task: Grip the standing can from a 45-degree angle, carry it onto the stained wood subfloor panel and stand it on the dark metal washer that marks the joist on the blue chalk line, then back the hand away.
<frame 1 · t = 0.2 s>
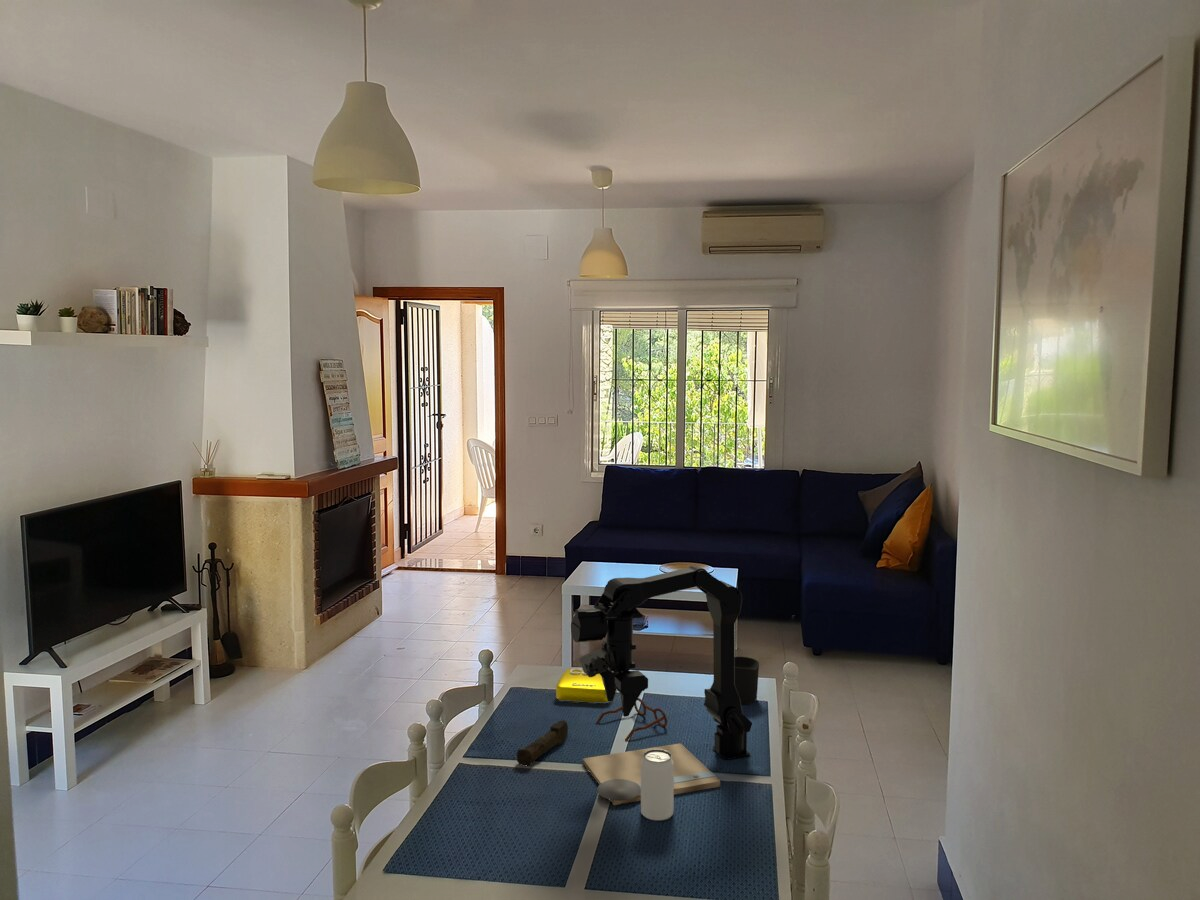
hand: (617, 708, 192), 14 cm above the table, tool pointing down, fingers open, 9 cm apart
pen holder: (740, 699, 236), on the table
element tile: (587, 694, 241), on the table
subfloor panel: (649, 774, 192), on the table
can: (657, 814, 175), on the table
glasses: (631, 728, 218), on the table
hand tool: (544, 751, 205), on the table
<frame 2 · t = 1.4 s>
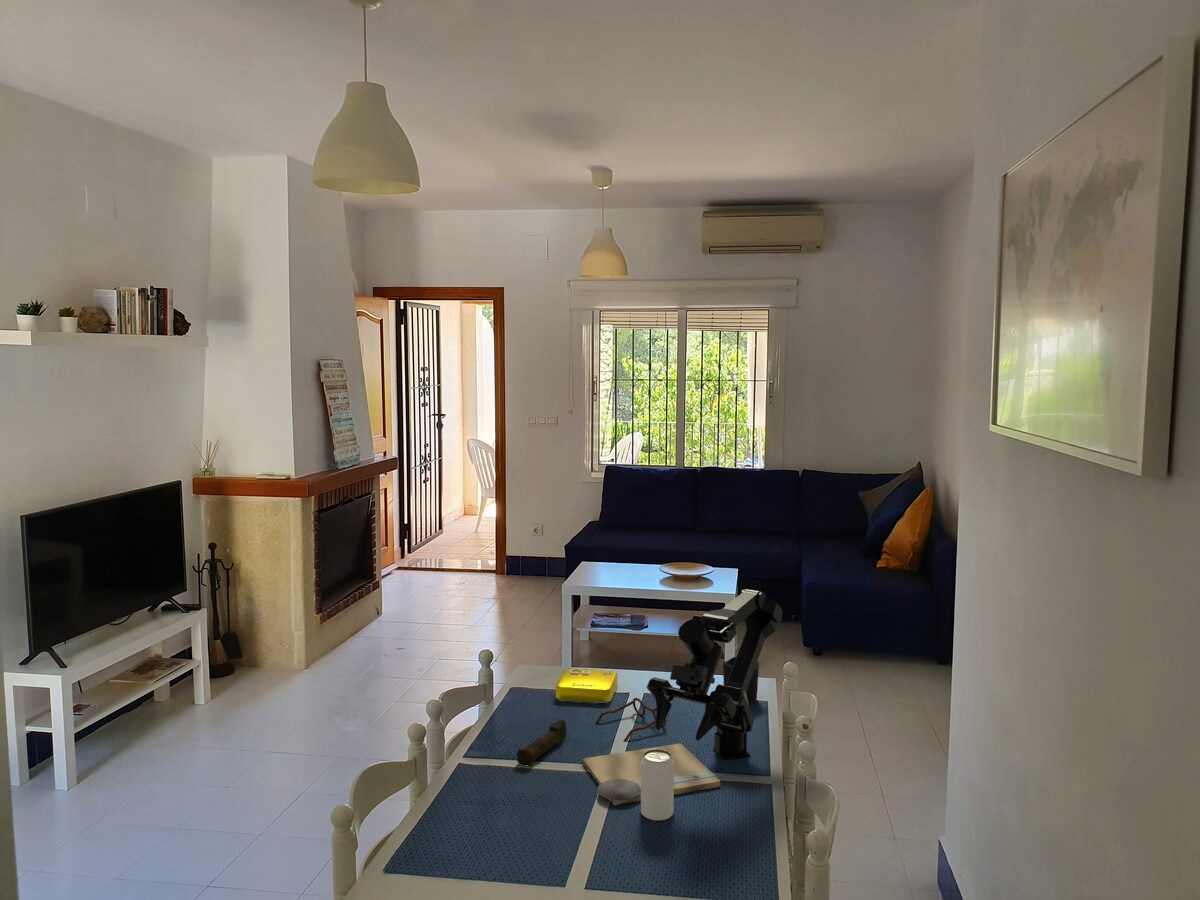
hand: (676, 734, 181), 13 cm above the table, tool tilted 45°, fingers open, 9 cm apart
nothing on the table moved.
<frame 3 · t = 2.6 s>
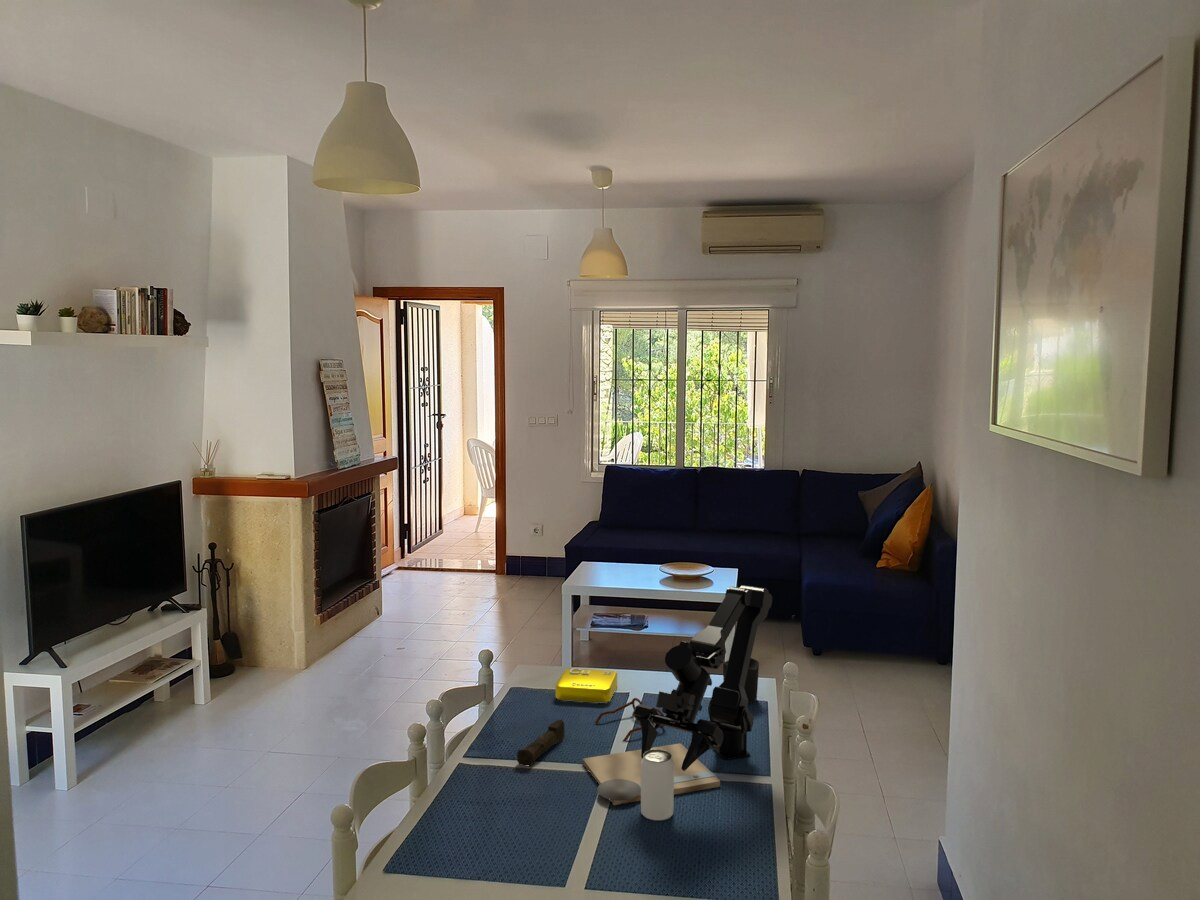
hand: (662, 764, 176), 9 cm above the table, tool tilted 45°, fingers open, 9 cm apart
nothing on the table moved.
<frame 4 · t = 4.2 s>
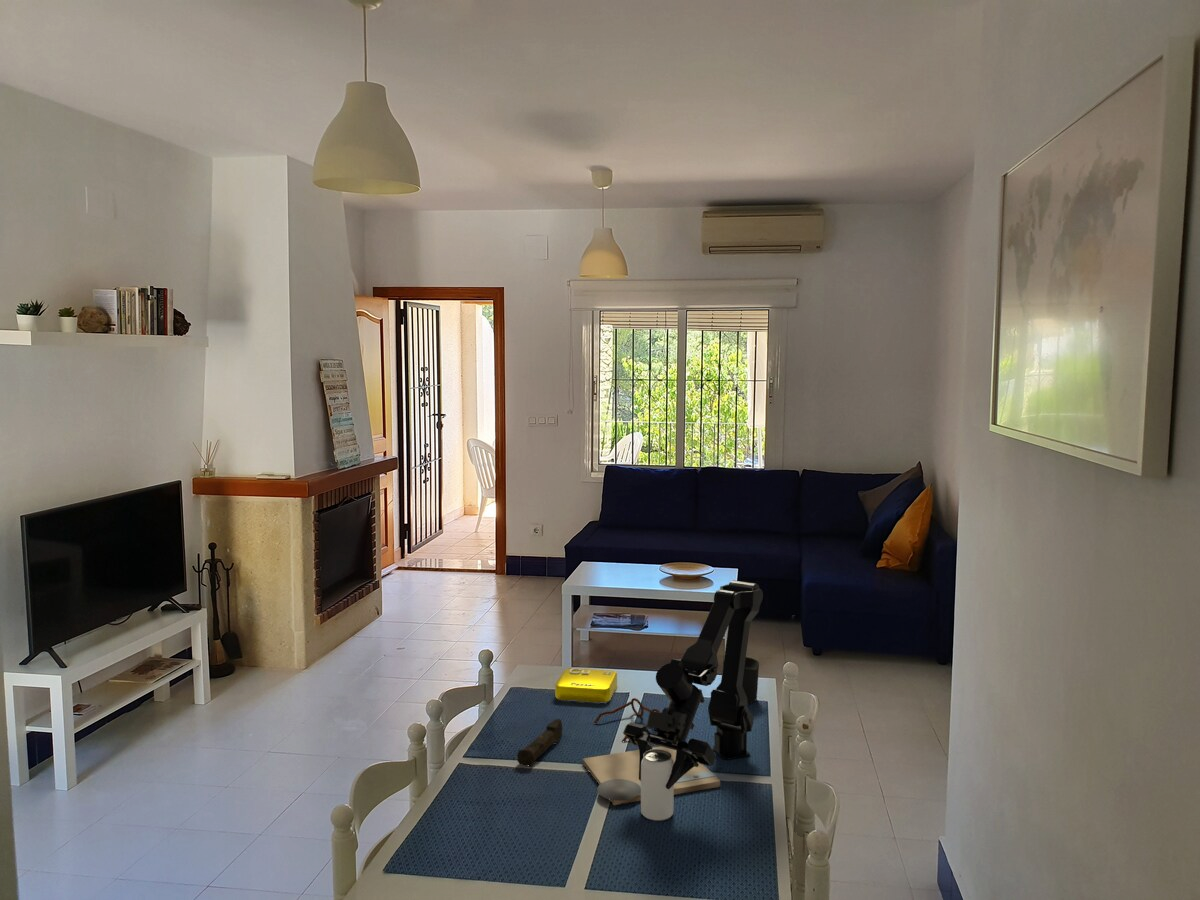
hand: (653, 784, 174), 7 cm above the table, tool tilted 45°, fingers closed on can, 6 cm apart
can: (657, 814, 175), on the table, touching gripper
everything else where it was.
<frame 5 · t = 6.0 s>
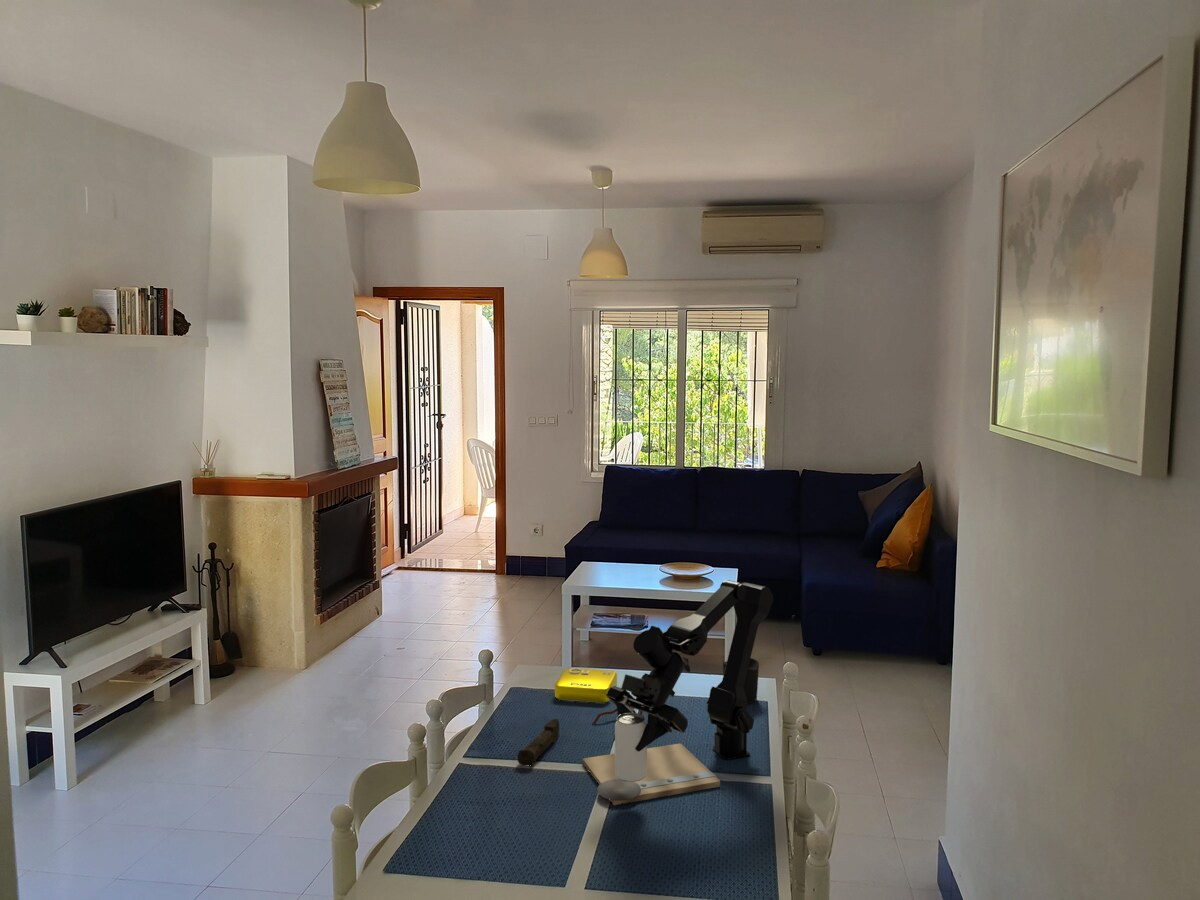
hand: (625, 745, 178), 12 cm above the table, tool tilted 45°, fingers closed on can, 6 cm apart
can: (631, 776, 180), point 5 cm above the table, touching gripper
when the fingers open (9 cm above the table, at t = 7.9 s): can stays where it is, resting on subfloor panel.
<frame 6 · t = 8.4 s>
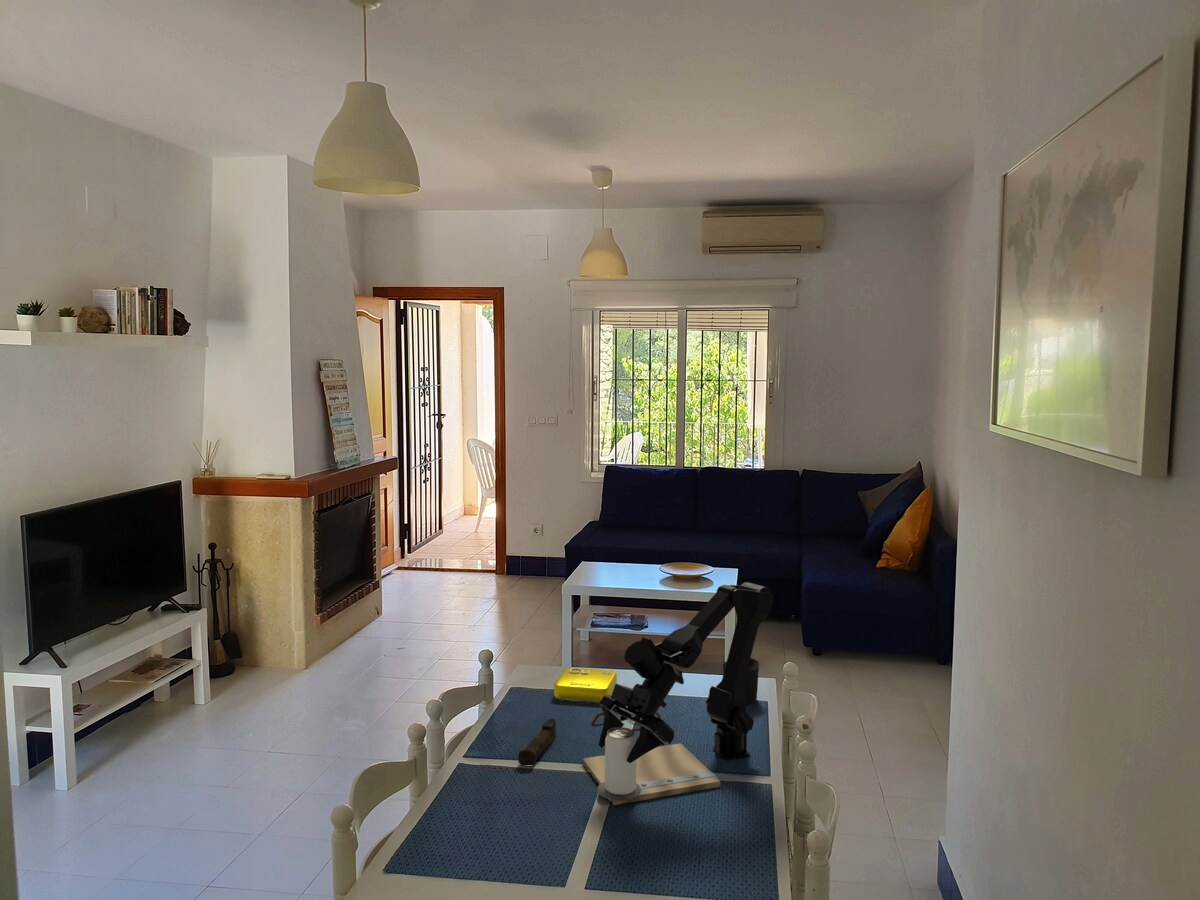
hand: (613, 754, 181), 9 cm above the table, tool tilted 45°, fingers open, 9 cm apart
can: (620, 789, 183), point 1 cm above the table, touching subfloor panel
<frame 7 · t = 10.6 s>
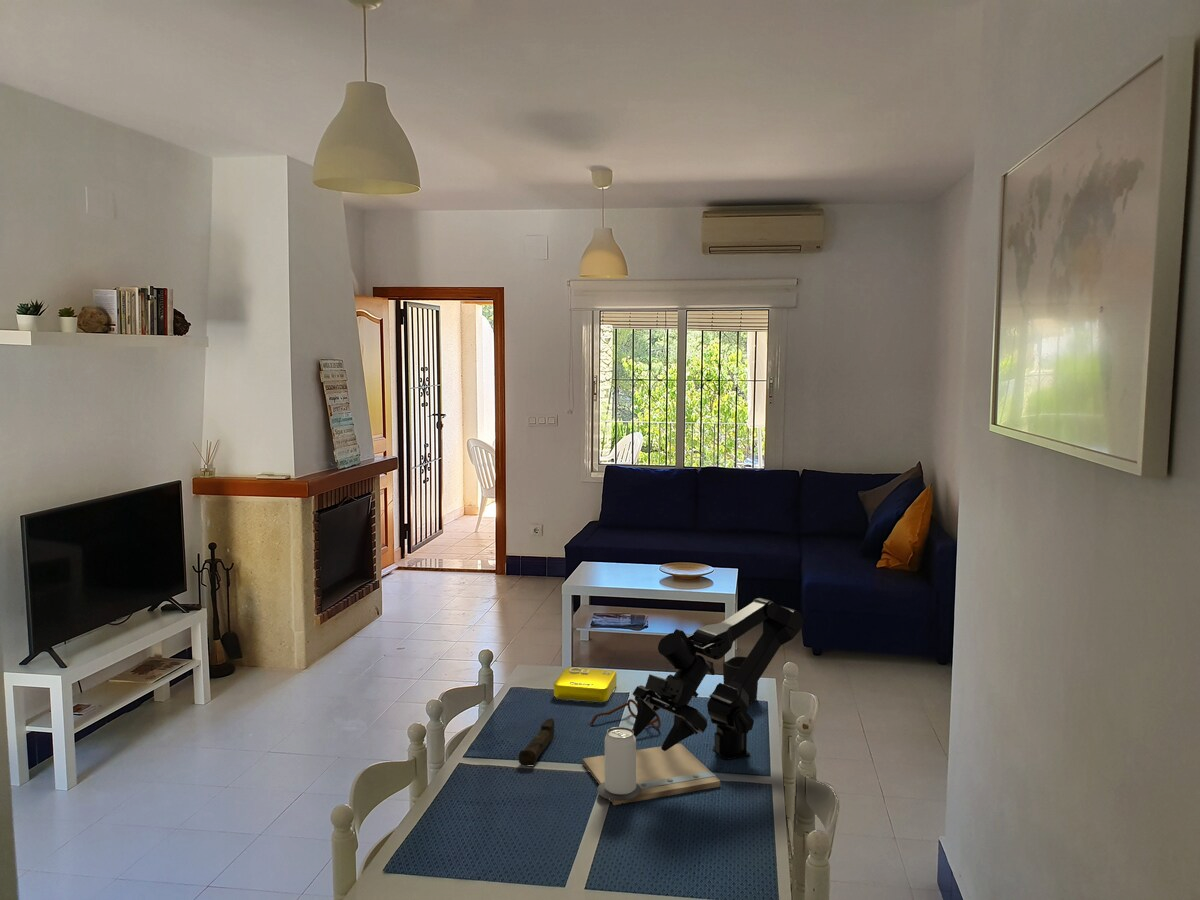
hand: (648, 742, 187), 9 cm above the table, tool tilted 45°, fingers open, 9 cm apart
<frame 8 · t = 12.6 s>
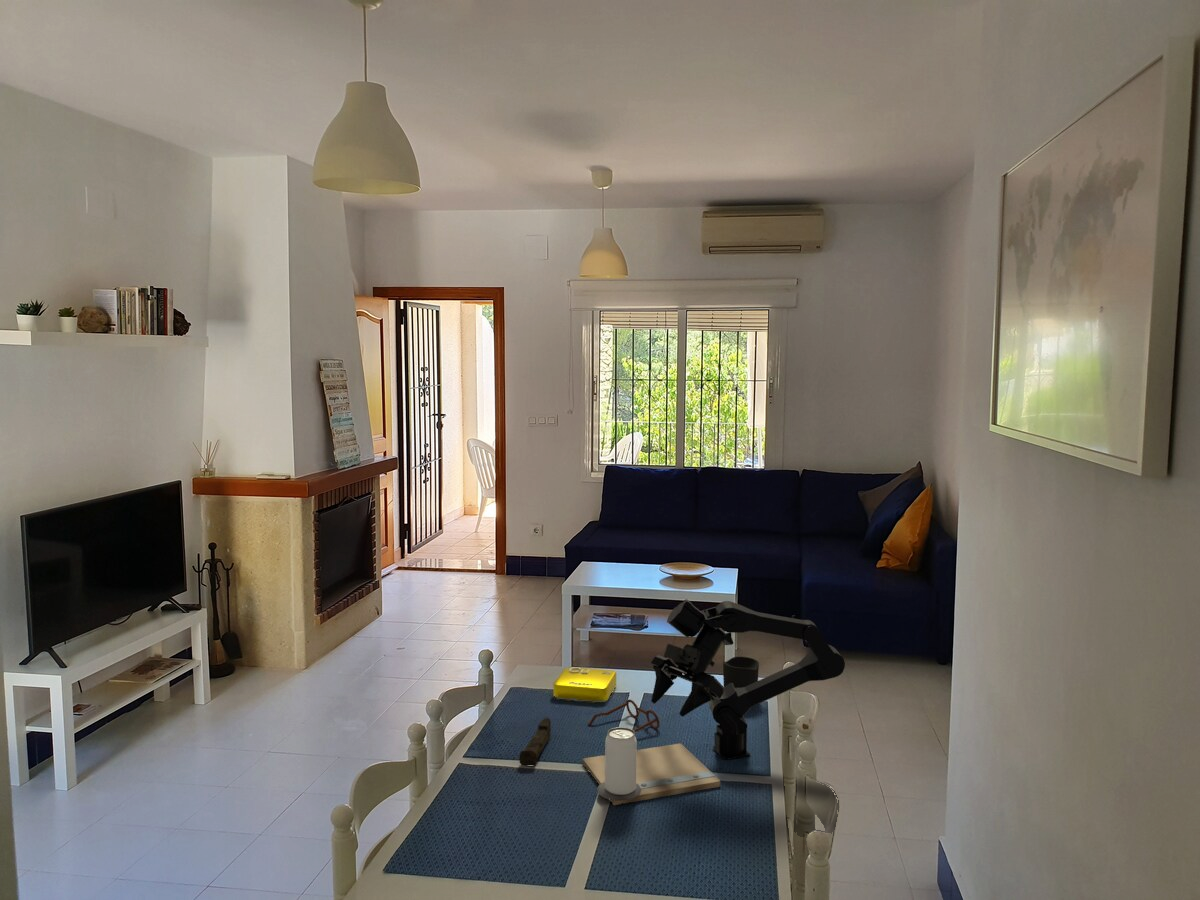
hand: (666, 708, 194), 14 cm above the table, tool tilted 45°, fingers open, 9 cm apart
at the end: can 0.3 cm from the target spot on the subfloor panel, point 1.2 cm above the subfloor panel's base; can tilted 1°; the gripper is holding nothing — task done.
